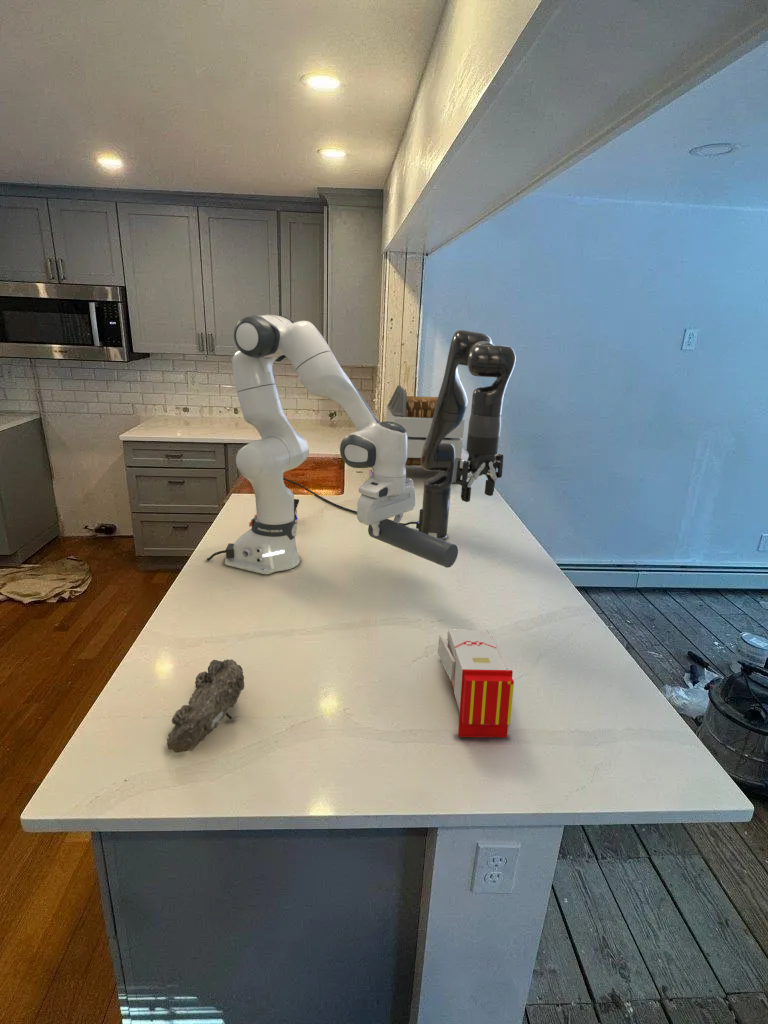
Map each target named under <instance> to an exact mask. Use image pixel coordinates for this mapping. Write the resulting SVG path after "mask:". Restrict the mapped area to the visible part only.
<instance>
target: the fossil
mask: <svg viewBox="0 0 768 1024" xmlns="http://www.w3.org/2000/svg"><path fill="white" fill-rule="evenodd" d="M243 670H244V669H243V667H242V665H240V664H237V662H236V661H235V660H234V659H232V658H231V659H227V658H226V659H224V660H223V661H222V660H217V659H212V660H211V661H210V663H209V665H208V666H207V671H201V672H199V673H198V674H197V675H196V676H195V680H194V684H195V685H194V687H195V689H194V690H193V693H192V694H191V697H190V698H189V700H188V704H184V705H182V706H181V707H180V709H177V710H176V711H175V713H174V715H173V716H172V718H171V723H172V724H173V727H172V730H171V731H170V732H168V734H167V738H166V741H167V742H166V745H167V749H168V750H169V751H173V752H174V753H176V754H178V753H182V752H188V751H189V752H192V751H193V750H195V748H196V747H197V746H199V744H200V743H201V742H203V741H204V740H205V739H206V738H207V737H208V736H209V735H210V734H211V733H212V732H214V730H215V729H217V727H218V726H219V724H220V722H221V721H222V720H223V719H224V718H225V716H226V717H227V719H229V720H233V717H232V715H230V714H229V710H230V709H231V708H234V706H235V704H236V703H237V702H238V699H239V697H240V695H241V693H242V691H243V690H245V689H244V688H245V675H244V671H243Z"/></svg>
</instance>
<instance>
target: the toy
mask: <svg viewBox="0 0 768 1024" xmlns="http://www.w3.org/2000/svg"><path fill="white" fill-rule="evenodd" d="M446 640H447V643H446V641H445V639H444V636H443V635H442V634H439V637H438V646H437V656H438V657H439V659H440V661H441V663H442V666H443V668H444V670H445V672H446V674H447V677H448V679H449V681H450V684H451V687H452V690H453V693H454V697H455V701H456V705H457V708H458V711H459V714H458V715H459V716H458V730H457V731H458V732H457V737H458V738H508V731H509V726H510V725H511V717H512V707H513V697H514V696H513V695H514V684H515V680H514V679H513V673H514V671H513V670H512V669H508V667H507V665H506V662H505V661H504V659H503V658H502V655H501V653H500V651H499V649H498V647H497V643H496V639H495V637H494V635H493V634H491V632H490V631H489V629H467V628H466V629H465V628H463V629H461V628H460V629H459V628H448V630H447V639H446Z"/></svg>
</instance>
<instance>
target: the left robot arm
mask: <svg viewBox="0 0 768 1024" xmlns="http://www.w3.org/2000/svg"><path fill="white" fill-rule="evenodd" d="M233 341H234V344H235V346H236V348H237V349H238V350H237V351H236V352H235V353H234V355H233V356H232V359H231V361H232V362H231V363H232V376H233V381H234V386H235V391H236V394H237V398H238V402H239V405H240V409H241V413H242V417H243V419H244V421H245V422H246V423H248V424H250V425H251V426H253V427H254V428H255V429H256V430H257V431H256V432H258V434H259V436H260V437H261V438H260V439H256V440H253V441H251V442H248V443H247V444H245V445H244V446H243V447H241V448H240V449H238V451H237V453H236V456H235V464H236V468H237V470H238V472H239V473H240V475H241V476H242V477H244V479H246V480H247V481H248V482H249V483H250V485H251V487H252V490H253V492H254V493H253V494H254V497H255V510H256V514H255V515H254V517H253V518H252V519H251V520H250V521H249V523H248V527H249V528H250V527H251V528H250V529H248V530H247V531H246V532H244V533H243V534H241V535H240V536H239V537H238V538H237V539H236V540H235V542H234V543H230V542H229V543H228V544H227V545H226V548H225V549H224V550H220V551H217V552H214V553H213V554H211V555H210V556H209V557H207V558H206V561H207V562H208V561H211V560H212V559H213V558H215V557H216V556H218V555H221V554H225V559H224V564H225V566H229V567H231V568H232V567H233V568H236V569H240V570H245V571H249V572H253V573H257V574H261V575H271V574H273V573H276V572H283V571H287V570H290V569H291V570H292V569H293V568H295V567H297V566H298V565H299V564H300V563H301V558H300V555H299V552H298V547H297V541H296V540H297V539H296V536H297V523H296V522H297V520H296V519H295V517H294V499H295V495H294V492H293V491H292V490H291V489H290V488H289V487H287V486H286V484H285V480H283V478H284V473H286V472H289V471H291V470H294V469H296V468H298V467H299V466H300V465H302V464H303V463H304V462H306V461H307V459H308V457H309V455H310V446H309V443H308V442H307V440H306V438H305V437H304V436H303V435H301V434H300V433H298V432H297V431H296V430H295V429H294V427H293V426H292V424H291V422H290V421H289V419H288V418H287V416H286V413H285V410H284V409H283V405H282V402H281V399H280V395H279V390H278V388H277V384H276V380H275V376H274V375H275V374H274V371H273V367H274V366H273V365H274V363H275V362H278V363H279V362H281V361H283V360H285V358H287V359H288V361H289V362H290V364H291V366H292V368H293V370H294V371H295V374H296V375H297V377H298V379H299V381H300V383H301V384H302V385H303V386H304V388H305V389H306V390H307V391H308V393H310V394H313V395H315V396H317V397H320V398H321V397H322V398H325V399H328V400H331V401H333V402H335V403H336V404H338V405H339V406H340V407H341V408H342V409H343V410H344V412H345V413H346V415H347V416H348V418H349V420H350V421H351V422H352V424H353V426H354V427H355V429H356V430H357V431H353V432H351V433H349V434H347V435H346V436H344V437H343V439H342V440H341V442H340V444H339V453H340V457H341V460H342V461H343V463H345V464H346V465H347V466H348V467H350V468H351V469H352V468H353V469H369V468H370V469H371V470H372V471H373V476H371V477H370V478H368V479H367V480H365V481H364V482H363V483H361V484H360V485H359V486H358V493H359V494H360V495H359V496H358V499H357V509H356V511H357V513H356V519H357V521H358V523H360V524H361V525H362V524H363V525H365V526H369V525H371V526H372V528H373V535H375V536H379V535H381V530H382V529H379V527H378V525H379V524H380V521H382V520H385V519H390V518H393V519H392V521H393V522H396V523H398V524H399V523H401V521H402V519H403V517H404V513H405V514H406V513H408V512H410V511H413V510H414V508H415V507H416V490H415V487H414V486H415V483H414V480H413V479H412V478H410V477H407V469H406V465H405V464H406V461H407V457H408V436H407V431H406V429H405V428H404V427H403V426H402V425H400V424H397V423H394V422H388V421H386V420H383V421H380V420H378V418H377V416H376V415H375V414H374V412H373V411H372V409H371V407H370V406H369V404H368V403H367V401H366V400H365V398H364V397H363V396H362V393H361V392H360V391H359V389H358V388H357V386H356V385H355V383H353V381H352V380H351V378H350V377H349V376H348V375H347V374H346V373H345V371H344V369H343V368H342V366H341V365H340V363H339V361H338V360H337V358H336V356H335V354H334V353H333V351H332V349H331V347H330V345H329V344H328V343H327V342H328V341H326V339H325V338H324V336H323V335H322V333H321V332H320V331H319V329H318V328H317V327H316V326H315V325H314V324H313V323H312V322H311V321H309V320H297V321H295V320H293V319H291V318H290V317H287V316H284V315H276V314H261V315H257V314H253V315H252V314H251V315H248V316H245V317H242V318H241V319H239V320H238V322H237V323H236V324H235V326H234V330H233Z"/></svg>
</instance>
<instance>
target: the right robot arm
mask: <svg viewBox="0 0 768 1024" xmlns="http://www.w3.org/2000/svg"><path fill="white" fill-rule="evenodd" d="M516 359H517V357H516V353H515V351H514V348H513V347H512V346H509V345H496V344H493V341H492V339H491V337H490V336H488V334H485V333H482V332H477V331H470V330H464V329H458V330H456V331H455V332H454V333H453V335H452V338H451V341H450V345H449V350H448V354H447V360H446V364H445V370H444V375H443V379H442V383H441V386H440V389H439V393H438V396H437V397H438V399H437V402H436V406H435V410H434V415H433V419H432V423H431V427H430V430H429V433H428V435H427V438H426V441H425V443H424V446H423V449H422V453H421V465H422V466H421V467H422V469H423V470H424V471H428V472H429V471H430V472H438V473H436V474H435V475H433V476H431V477H429V478H427V479H425V480H424V482H423V493H422V496H423V497H422V506H421V508H420V509H419V516H418V520H417V521H408V522H405V523H404V522H400V523H399V524H401V525H404V526H406V527H407V526H408V525H415V529H416V530H417V531H420V532H423V533H425V534H428V535H431V536H433V537H436V538H439V539H441V540H444V541H445V540H446V539H447V538H448V525H449V517H450V516H449V514H450V504H451V494H452V493H451V491H452V484H453V483H452V479H453V471H454V464H455V449H454V446H453V445H452V444H450V443H440V442H441V441H442V440H443V439H444V438H445V437H446V436H447V435H448V434H449V433H451V432H452V431H453V430H454V429H455V428H456V427H457V426H458V425H459V424H460V423H461V421H462V419H464V417H465V413H466V411H467V407H468V403H469V401H468V400H469V399H468V396H467V393H466V390H465V388H464V386H463V383H462V382H461V379H460V374H459V370H458V367H459V366H466V367H467V368H468V371H469V373H470V375H471V376H473V377H479V378H495V380H494V381H493V383H492V384H489V385H487V386H481V387H477V388H475V389H474V390H473V392H472V399H471V408H470V415H469V420H468V429H467V439H466V452H467V454H468V456H467V459H462V460H461V459H459V460H458V465H457V473H456V481H455V483H454V484H456V485H459V486H461V489H460V500H461V501H462V502H466V503H469V502H470V501H471V496H472V495H471V494H472V485H473V483H474V481H477V479H478V477H481V476H482V475H484V476H485V478H486V479H485V484H484V485H485V486H484V495H486V496H489V497H492V496H493V495H494V492H495V486H496V482H497V480H498V478H499V479H501V478H502V477H503V467H504V454H501V453H499V448H500V447H499V446H500V438H501V429H502V410H503V403H504V395H505V393H506V389H507V387H508V383H509V381H510V378H511V376H512V374H513V371H514V369H515V366H516V361H517V360H516ZM283 481H286V482H289V483H292V484H293V485H296V486H298V487H300V488H301V489H303V490H305V491H307V492H309V493H310V494H312V495H314V496H316V497H317V498H319V499H320V500H322V501H325V502H326V503H329V504H330V505H332V506H334V507H337V508H338V509H339V508H340V509H341V510H344V511H347V512H350V513H353V514H357V510H353V509H350V508H348V507H345V506H342V505H339V504H337V503H335V502H332V501H330V500H329V499H326V498H325V497H322V496H321V495H320V494H318V493H316V492H314V491H313V490H311V489H309V488H307V487H306V486H304V485H302V484H301V483H299V482H296V481H293V480H291V479H288V478H286V477H283ZM388 520H390V521H393V519H390V518H388Z"/></svg>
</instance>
